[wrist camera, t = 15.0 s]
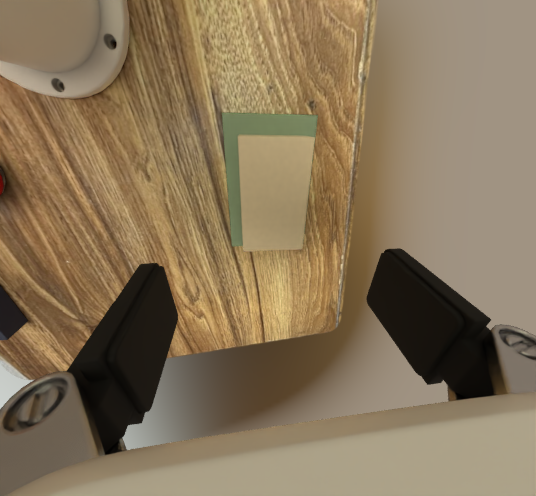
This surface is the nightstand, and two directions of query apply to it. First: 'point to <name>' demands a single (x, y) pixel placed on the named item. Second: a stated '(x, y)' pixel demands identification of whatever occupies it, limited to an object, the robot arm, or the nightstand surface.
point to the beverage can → (2, 181)
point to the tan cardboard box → (274, 190)
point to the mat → (255, 126)
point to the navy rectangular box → (9, 316)
